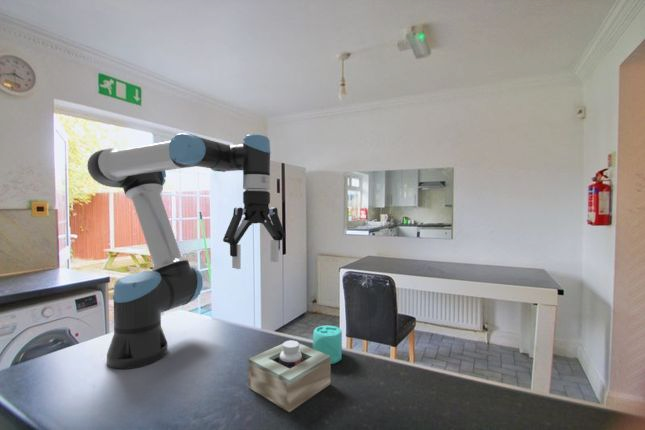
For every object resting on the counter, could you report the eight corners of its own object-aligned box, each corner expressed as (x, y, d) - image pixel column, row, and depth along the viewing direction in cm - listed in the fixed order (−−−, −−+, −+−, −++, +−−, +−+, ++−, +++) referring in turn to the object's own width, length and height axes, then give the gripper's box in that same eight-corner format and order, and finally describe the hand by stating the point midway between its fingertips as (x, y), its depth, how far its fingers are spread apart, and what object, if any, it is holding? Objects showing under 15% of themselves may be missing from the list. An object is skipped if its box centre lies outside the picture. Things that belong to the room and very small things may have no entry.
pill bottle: (298, 391, 73) (298, 349, 73) (276, 388, 74) (276, 347, 74) (304, 378, 78) (304, 340, 78) (283, 375, 80) (283, 338, 79)
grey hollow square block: (248, 387, 75) (248, 358, 75) (290, 365, 86) (290, 339, 86) (289, 412, 66) (289, 380, 66) (330, 383, 77) (330, 355, 77)
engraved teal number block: (341, 365, 86) (341, 336, 86) (312, 364, 87) (312, 335, 87) (341, 351, 94) (341, 325, 94) (314, 350, 95) (314, 324, 95)
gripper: (225, 188, 77) (225, 273, 78) (296, 192, 97) (296, 260, 97) (209, 189, 82) (209, 269, 83) (280, 192, 101) (280, 257, 102)
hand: (256, 264), depth 90 cm, fingers open, 13 cm apart
